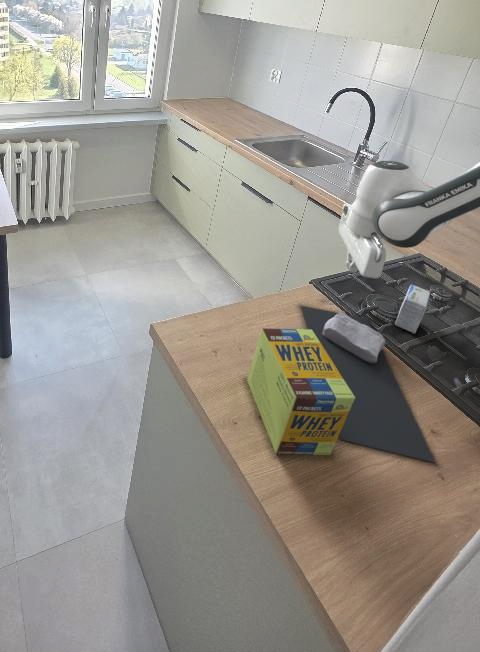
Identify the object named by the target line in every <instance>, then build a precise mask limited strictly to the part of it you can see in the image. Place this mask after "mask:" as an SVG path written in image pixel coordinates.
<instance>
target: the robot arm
mask: <svg viewBox="0 0 480 652" xmlns="http://www.w3.org/2000/svg"><path fill="white" fill-rule="evenodd" d="M477 209H480V161H479V162H478V163H476V164H475V165H474V166H472V167H471V168H469V169H467V170H466V171H465V172H463V173H461V174H460V175H458V176H456V177H455V178H452V179H450V180H448V181H446V182H445V183H442V184H440V185H438V186H436V187H434V188H433V187H431V186H430V185H429V184H427V183H425V182H424V181H423V180H421V179H420V178H419V177H418V176H417V175H416V174H415V173H414V172H413V170H412V168H411V167H410V166H409V165H407V164H405V163H403V162H400V161H394V160H379V161H375V162H372V163H370V164H369V165H368V166H367V167H366V169H365V171H364V172H363V174H362V176H361V179H360V181H359V183H358V186H357V188H356V197H355V199H354V201H353V202H352V204H351V203H343V205H342V209H341V210H342V214H341V217H340V221H339V225H338V234H339V235H340V237H341V239H342V241H343V243H344V246H345V247H346V248H347V250H346V251H347V253H346V258H347V259H346V262H345V266H346V267H347V269H348V271H349V273H357V272H358V271H359V273H360V275H361V277H364V278H369V279H379V278H380V277H381V275H382V273H383V270H384V267H385V263H386V260H387V259H386V258H387V251H386V249H385V248H386V247H385V246H384V243H383V242H382V241H381V240H384V241H385V242H386V243H388V244H390V245H392V246H395V247H397V248H404V249H409V248H414V247H417V246H419V245H420V244H421V243H422V242H424V241H425V240H426V239H427V238H429V237H430V236H433V235H434V234H436V233H437V232H439V231H440V230H442V229H443V228H444V227H446V226H448V225H449V224H450V223H451V222H452V220H453V219H456V218H458V217H461V216H463V215H466V214H467V213H470V212H473V211H475V210H477Z"/></svg>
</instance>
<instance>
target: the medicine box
mask: <svg viewBox="0 0 480 652" xmlns="http://www.w3.org/2000/svg"><path fill="white" fill-rule="evenodd" d="M430 297H431V291H429V290H426V289H424V288H422V287H420V286H417V285H414V284H410V285H409V287H408V290H407V292H406V294H405V296H404V299H403V301H402V303H401V305H400V308H399V311H398V313H397V314H398V315H397V316H396V320H395V322H394V325H395V326H396V327H399V328H401V329H403V330H406V331H408V332H410V333H412V334H416V333H417V330H418V328H419V327H420V324H421V321H422V319H423V317H424V315H425V312H426V311H427V307H428V304H429V301H430Z"/></svg>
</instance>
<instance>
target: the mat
mask: <svg viewBox="0 0 480 652" xmlns="http://www.w3.org/2000/svg"><path fill="white" fill-rule="evenodd" d="M300 309H301V312H302V316H303V319H304V322H305V326H306V329H311V330H312V331H313V332H314V334H315V335H316V337H317V338H318V340H319V341H320V343H321V345H322V346H323V348H324V349H325V351H326V352H327V354H328V356H329V357H330V359H331V360H332V362H333V363H334V365H335V367H336V368H337V370H338V371H339V373H340V375H341V376H342V378H343V379H344V381H345V382H346V384H347V385H348V387H349V389H350V390H351V392H352V393H353V395H354V396H355V399H354V402H353V404H352V406H351V409H350V411H349V413H348V415H347V418H346V420H345V422H344V424H343V427H342V429H341V431H340V434H339V436H338V440H339V441H342V442H346V443H351V444H353V445H354V444H355V445H360V446H363V447H367V448H371V449H376V450H379V451H383V452H387V453H391V454H395V455H399V456H403V457H408V458H412V459H416V460H420V461H424V462H429V463H432V464H436V461H435V459H434V456H433V454H432V452H431V451H430V448H429V446H428V444H427V442H426V440H425V437H424V435H423V433H422V431H421V429H420V427H419V425H418V423H417V420H416V419H415V416H414V415H413V412H412V410H411V408H410V406H409V403H408V401H407V399H406V398H405V395H404V393H403V391H402V389H401V387H400V385H399V383H398V381H397V378H396V376H395V375H394V372H393V370H392V367H391V365H390V364H389V362H388V360H387V357H386V355H385V353H384V351H383V349H382V350H381V351H380V352H379V353H378V357H377V362H376V363H373V364H371V363H369V362H367V361H364V360H362V359H360V358H359V357H357V356H356V355H354V354H353V353H351V352H349V351H347V350H345V349H344V348H342V347H340V346H339V345H337V344H335V343H334V342H332V341H330V340H329V339H327V338H325V337H324V336H323V329H324V326H325V324H326V323H327V321H328V320H330V319H331V318H334V316H335V315H336V314H337V313H338V312H335V311H331V310H324V309H320V308H315V307H309V306H304V305H301V306H300ZM344 314H345V315H347V316H349V317H350V318H352V319H354V320H356V321H357V322H359V323H360V324H364V325H366V326H368V327H370V328H372V326H371V324H370V322H369V320H368V318H367V317H362V316H357V315H351V314H346V313H344Z"/></svg>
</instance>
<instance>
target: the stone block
mask: <svg viewBox="0 0 480 652" xmlns="http://www.w3.org/2000/svg"><path fill="white" fill-rule="evenodd" d="M336 313H337V314H336V315H335V316H334V318H331V319H330V320H328V321H327V323H326V324H325V326H324V329H323V336H324V337H325V338H327V339H329V340H330V341H332V342H334V343H335V344H337V345H339V346H340V347H342V348H344V349H345V350H347V351H349V352H351V353H353V354H354V355H356V356H357V357H359V358H360V359H362V360H364V361H367V362H369V363H371V364H373V363H376V362H377V357H378V353H379V352H380V351H381V350H382V351H383V349H384V347H385V344H386V339H385V338H384V336H383V334H382V333H380V332H379V331H376V330H375V329H373V328H372V327H371V328H370V327H368V326H366V325H364V324H360V323H359V322H357V321H356V320H354V319H352V318H350V317H349V316H347V315H348V314H347V315H345V314H346V313H343V312H341V311H339V312H336Z"/></svg>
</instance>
